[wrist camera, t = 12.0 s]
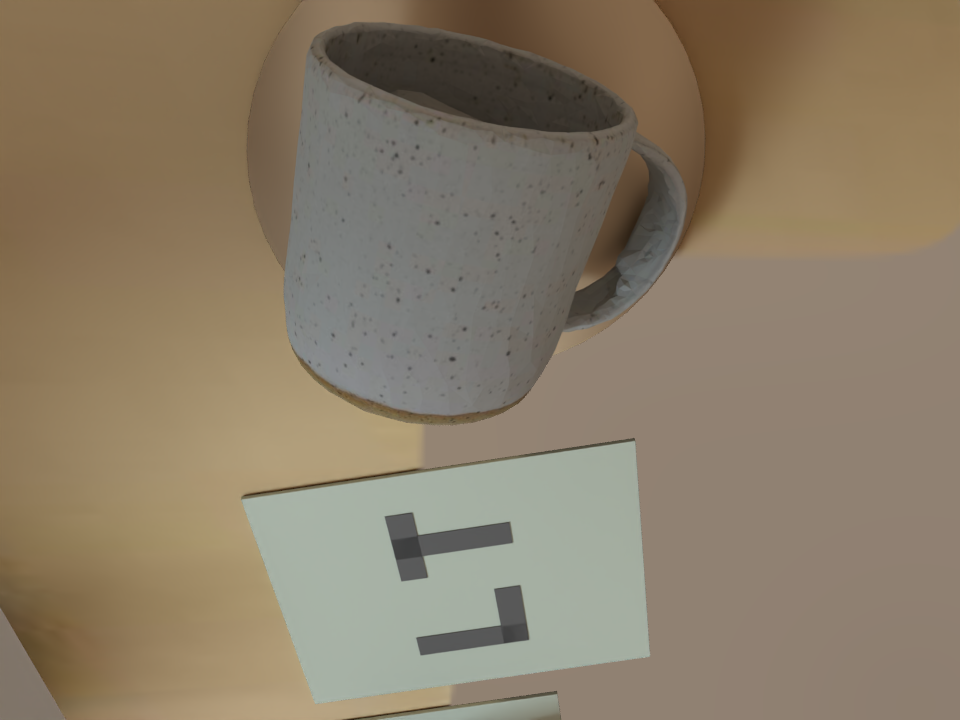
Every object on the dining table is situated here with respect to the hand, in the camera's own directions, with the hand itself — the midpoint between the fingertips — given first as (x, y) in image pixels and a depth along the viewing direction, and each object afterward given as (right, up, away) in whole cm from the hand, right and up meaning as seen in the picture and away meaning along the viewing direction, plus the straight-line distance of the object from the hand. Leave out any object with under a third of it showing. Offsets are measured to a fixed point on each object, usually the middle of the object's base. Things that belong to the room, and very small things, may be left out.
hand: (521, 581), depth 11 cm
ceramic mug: (0, +8, +14) cm, 16 cm away
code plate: (-1, -6, +23) cm, 23 cm away
